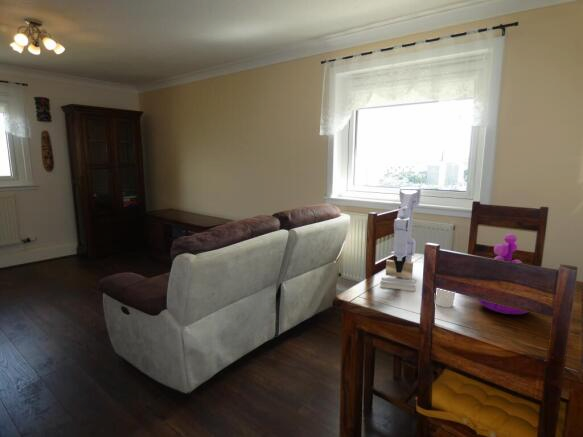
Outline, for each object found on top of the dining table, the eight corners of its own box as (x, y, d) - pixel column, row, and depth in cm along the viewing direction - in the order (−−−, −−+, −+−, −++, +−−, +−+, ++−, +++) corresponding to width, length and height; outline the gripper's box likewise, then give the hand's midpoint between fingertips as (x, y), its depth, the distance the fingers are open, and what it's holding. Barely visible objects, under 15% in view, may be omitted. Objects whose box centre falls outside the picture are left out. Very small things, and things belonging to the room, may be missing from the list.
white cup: (458, 308, 132) (460, 283, 130) (437, 308, 132) (439, 283, 130) (449, 300, 139) (451, 277, 138) (429, 300, 140) (431, 276, 138)
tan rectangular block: (385, 273, 165) (386, 259, 163) (412, 276, 161) (413, 262, 160) (385, 275, 162) (386, 261, 161) (412, 278, 158) (413, 263, 157)
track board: (381, 281, 161) (381, 276, 160) (415, 285, 156) (415, 280, 155) (380, 286, 154) (380, 281, 154) (415, 291, 149) (415, 285, 149)
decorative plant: (503, 323, 119) (513, 240, 114) (464, 302, 137) (470, 230, 132) (544, 317, 124) (555, 237, 119) (501, 298, 142) (509, 227, 137)
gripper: (392, 239, 167) (391, 266, 169) (390, 246, 153) (389, 275, 156) (407, 240, 165) (405, 267, 167) (407, 247, 151) (405, 276, 153)
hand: (399, 271), depth 161 cm, fingers closed on tan rectangular block, 2 cm apart
